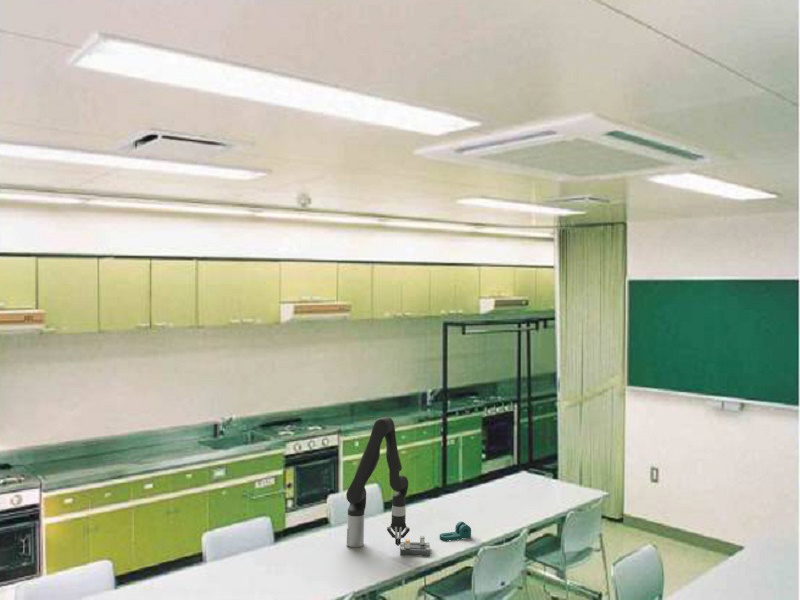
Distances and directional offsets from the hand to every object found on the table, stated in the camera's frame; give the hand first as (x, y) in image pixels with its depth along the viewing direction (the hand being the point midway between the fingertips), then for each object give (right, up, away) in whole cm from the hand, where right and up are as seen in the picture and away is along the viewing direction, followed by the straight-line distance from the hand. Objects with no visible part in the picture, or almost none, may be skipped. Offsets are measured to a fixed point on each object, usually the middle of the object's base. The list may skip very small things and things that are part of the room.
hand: (397, 545), depth 373 cm
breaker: (+13, -1, +6) cm, 15 cm away
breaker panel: (+9, -5, +3) cm, 11 cm away
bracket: (+32, -5, +26) cm, 42 cm away
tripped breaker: (+5, -1, 0) cm, 5 cm away
